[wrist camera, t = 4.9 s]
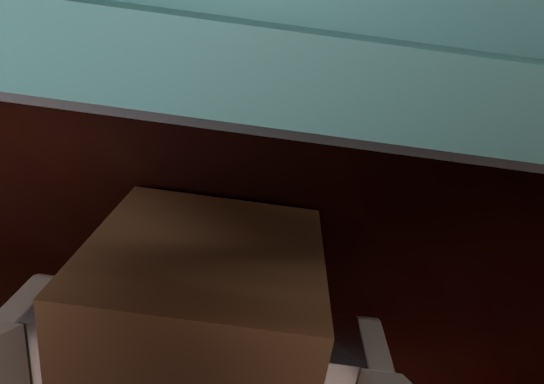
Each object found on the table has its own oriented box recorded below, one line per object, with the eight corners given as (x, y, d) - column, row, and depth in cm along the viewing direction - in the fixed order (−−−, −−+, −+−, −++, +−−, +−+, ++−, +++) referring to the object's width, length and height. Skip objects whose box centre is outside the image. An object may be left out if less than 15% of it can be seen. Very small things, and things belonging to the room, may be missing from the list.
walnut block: (318, 210, 11) (334, 338, 6) (292, 353, 12) (291, 527, 8) (135, 186, 11) (33, 299, 6) (134, 332, 12) (53, 496, 8)
